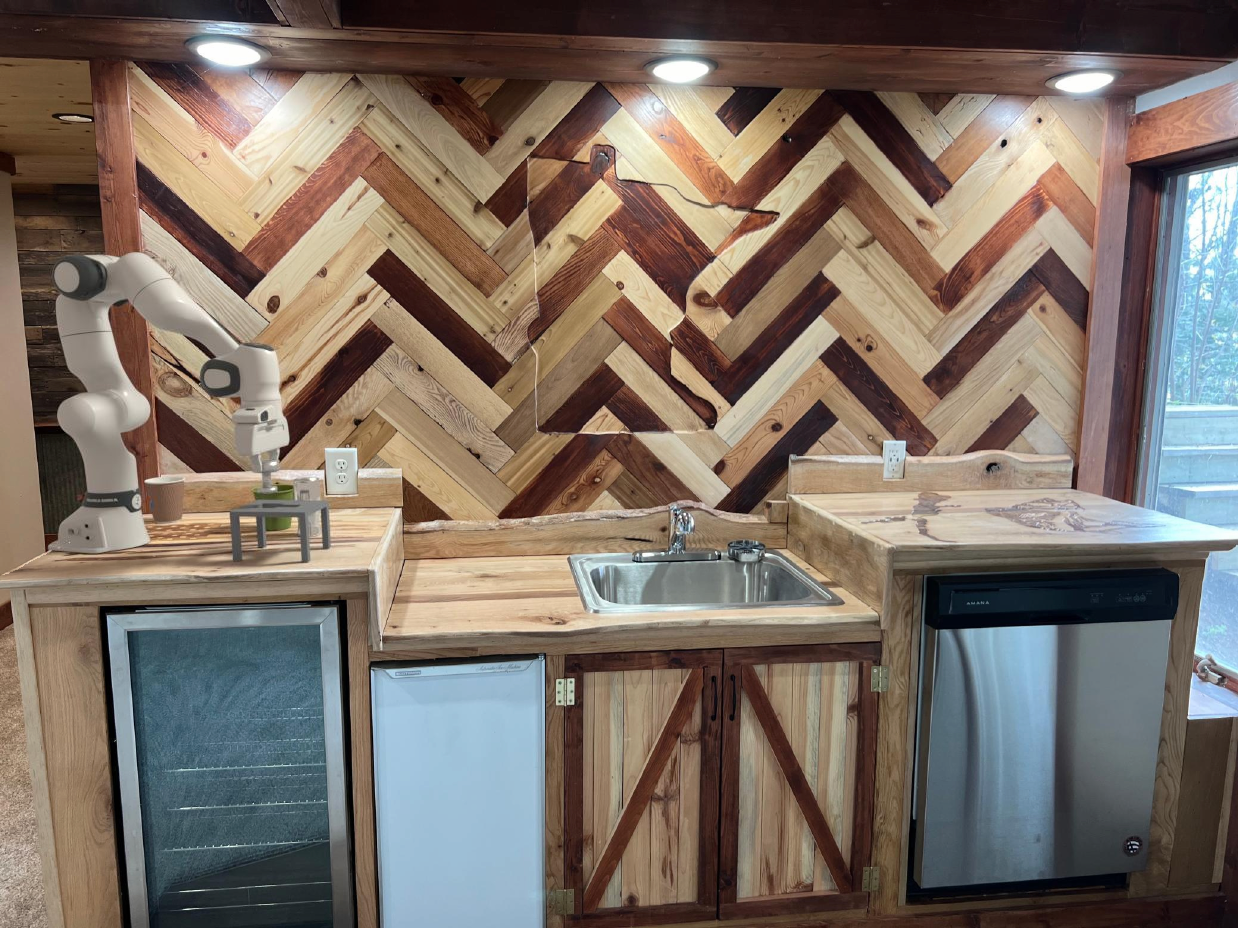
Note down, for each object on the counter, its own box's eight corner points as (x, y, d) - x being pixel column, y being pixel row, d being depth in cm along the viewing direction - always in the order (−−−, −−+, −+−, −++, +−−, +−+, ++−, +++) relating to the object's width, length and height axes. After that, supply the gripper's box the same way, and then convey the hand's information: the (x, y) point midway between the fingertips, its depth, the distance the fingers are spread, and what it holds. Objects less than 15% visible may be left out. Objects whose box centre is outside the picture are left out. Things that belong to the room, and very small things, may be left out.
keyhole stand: (233, 561, 199) (229, 511, 198) (260, 546, 213) (257, 499, 211) (308, 562, 199) (305, 512, 197) (331, 547, 212) (328, 500, 210)
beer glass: (327, 531, 229) (324, 477, 226) (316, 538, 222) (312, 481, 220) (302, 531, 230) (299, 476, 227) (290, 537, 223) (287, 481, 220)
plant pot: (245, 532, 228) (242, 491, 226) (268, 522, 240) (265, 483, 238) (286, 533, 227) (284, 492, 225) (307, 523, 238) (305, 484, 237)
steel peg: (249, 494, 201) (247, 462, 200) (261, 489, 207) (259, 459, 206) (274, 494, 201) (272, 463, 199) (285, 490, 206) (283, 459, 205)
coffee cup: (157, 517, 246) (153, 476, 245) (194, 516, 248) (190, 476, 246) (141, 525, 236) (137, 483, 234) (179, 524, 237) (176, 482, 236)
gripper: (269, 408, 211) (272, 462, 213) (227, 416, 191) (232, 476, 193) (294, 408, 211) (297, 463, 213) (255, 416, 191) (259, 476, 193)
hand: (266, 469), depth 203 cm, fingers closed on steel peg, 6 cm apart
